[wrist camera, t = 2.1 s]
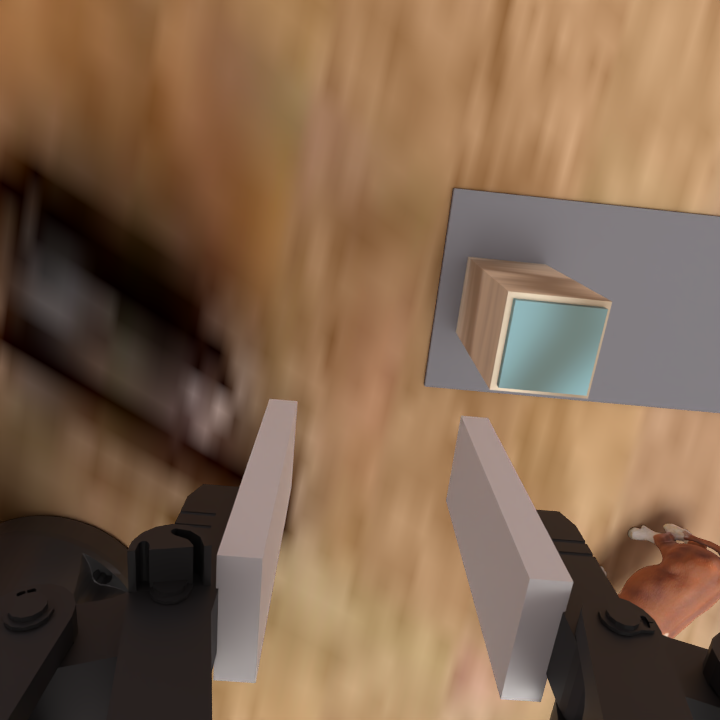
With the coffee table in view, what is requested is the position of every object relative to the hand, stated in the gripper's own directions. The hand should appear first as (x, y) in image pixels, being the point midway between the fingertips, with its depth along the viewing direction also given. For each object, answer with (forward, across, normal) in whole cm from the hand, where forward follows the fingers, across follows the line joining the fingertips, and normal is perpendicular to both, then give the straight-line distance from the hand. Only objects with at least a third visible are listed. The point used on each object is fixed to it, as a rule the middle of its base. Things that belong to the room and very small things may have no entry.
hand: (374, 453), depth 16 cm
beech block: (+22, +9, 0) cm, 24 cm away
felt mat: (+23, +16, 0) cm, 28 cm away
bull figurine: (+23, +22, -20) cm, 38 cm away
